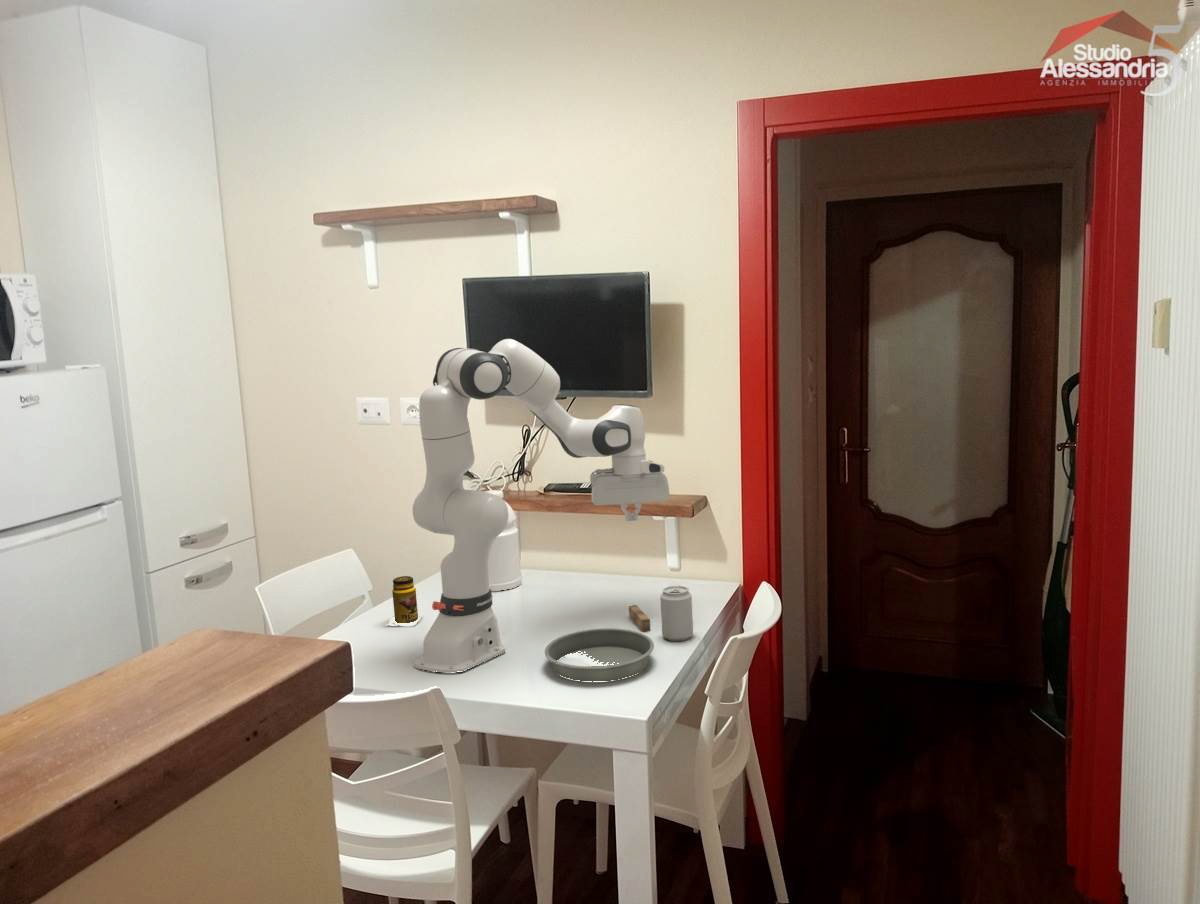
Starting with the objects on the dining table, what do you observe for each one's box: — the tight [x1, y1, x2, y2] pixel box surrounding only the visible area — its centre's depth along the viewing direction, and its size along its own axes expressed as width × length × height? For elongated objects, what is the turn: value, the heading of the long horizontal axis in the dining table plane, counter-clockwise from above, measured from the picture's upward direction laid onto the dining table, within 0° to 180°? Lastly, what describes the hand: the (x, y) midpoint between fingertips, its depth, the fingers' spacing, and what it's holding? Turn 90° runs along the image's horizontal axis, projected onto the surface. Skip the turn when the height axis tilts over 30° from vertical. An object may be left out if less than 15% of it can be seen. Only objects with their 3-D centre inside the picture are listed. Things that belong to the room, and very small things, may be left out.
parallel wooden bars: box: [628, 604, 693, 633], centre depth 239 cm, size 12×13×3 cm
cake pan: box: [544, 627, 655, 682], centre depth 212 cm, size 25×25×4 cm
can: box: [659, 585, 694, 642], centre depth 226 cm, size 8×8×12 cm
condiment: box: [391, 575, 419, 623], centre depth 249 cm, size 7×8×12 cm
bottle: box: [484, 489, 522, 592], centre depth 276 cm, size 14×14×28 cm
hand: (631, 520), depth 244 cm, fingers closed
